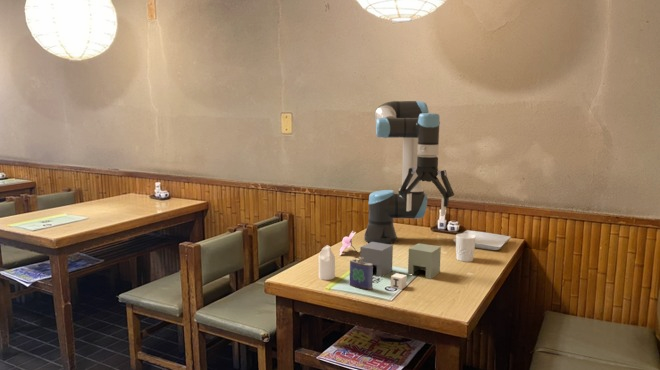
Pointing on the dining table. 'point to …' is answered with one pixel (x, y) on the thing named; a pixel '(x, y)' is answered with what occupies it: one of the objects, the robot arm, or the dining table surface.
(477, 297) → the dining table surface
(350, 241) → the lily
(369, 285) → the flask
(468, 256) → the white cup
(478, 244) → the salad plate
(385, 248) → the slate cover
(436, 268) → the olive cover
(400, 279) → the letter cube
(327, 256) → the white bottle
